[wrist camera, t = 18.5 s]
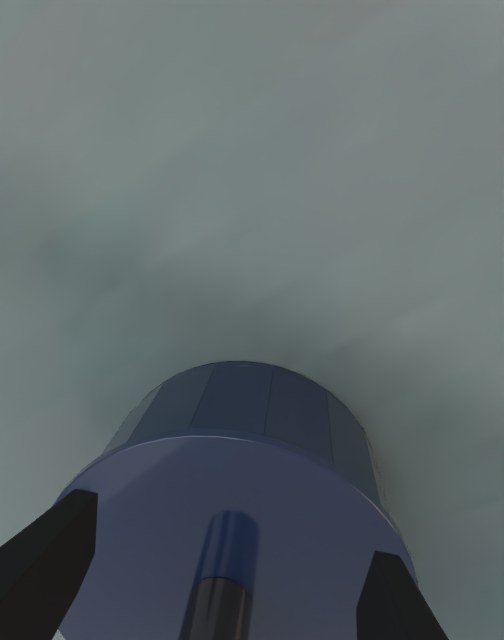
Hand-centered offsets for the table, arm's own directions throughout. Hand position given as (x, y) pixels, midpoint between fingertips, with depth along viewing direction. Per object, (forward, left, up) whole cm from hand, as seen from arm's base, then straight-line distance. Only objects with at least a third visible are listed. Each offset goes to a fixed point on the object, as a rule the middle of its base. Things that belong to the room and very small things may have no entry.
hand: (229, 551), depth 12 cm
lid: (+1, +6, -4) cm, 7 cm away
